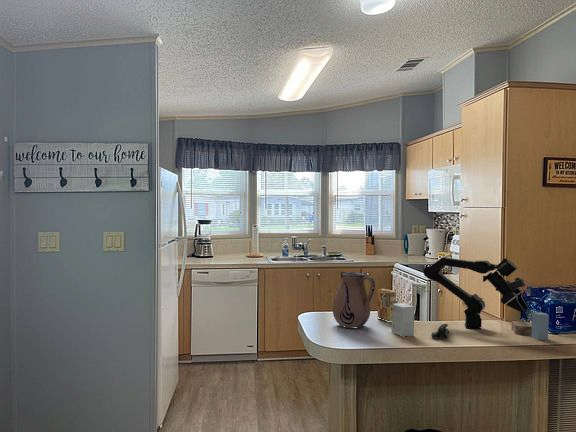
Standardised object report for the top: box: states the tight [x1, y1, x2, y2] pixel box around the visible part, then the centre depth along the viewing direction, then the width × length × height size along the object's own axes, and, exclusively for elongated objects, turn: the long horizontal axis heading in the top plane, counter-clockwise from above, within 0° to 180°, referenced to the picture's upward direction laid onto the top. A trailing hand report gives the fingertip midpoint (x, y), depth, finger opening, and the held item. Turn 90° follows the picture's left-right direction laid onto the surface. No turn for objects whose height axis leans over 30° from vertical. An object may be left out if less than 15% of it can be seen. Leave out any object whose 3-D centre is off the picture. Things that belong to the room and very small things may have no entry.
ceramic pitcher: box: [332, 271, 376, 328], centre depth 210 cm, size 18×21×25 cm
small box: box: [391, 302, 415, 338], centre depth 198 cm, size 8×6×13 cm
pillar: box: [531, 311, 550, 341], centre depth 196 cm, size 4×4×11 cm
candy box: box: [377, 288, 397, 321], centre depth 223 cm, size 9×4×15 cm, turn 33°
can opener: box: [430, 323, 450, 340], centre depth 198 cm, size 18×7×6 cm, turn 149°
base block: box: [510, 320, 532, 336], centre depth 206 cm, size 9×9×4 cm
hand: (526, 310), depth 199 cm, fingers open, 9 cm apart
